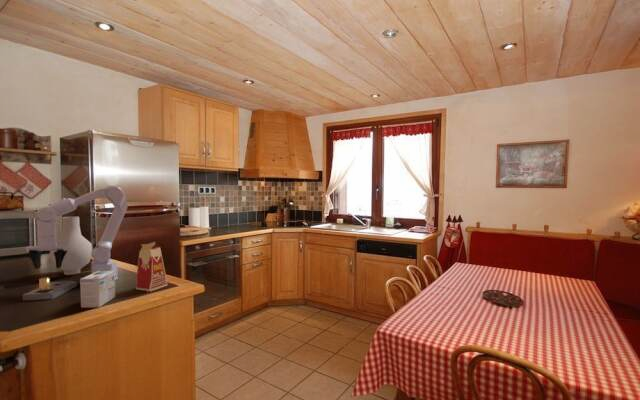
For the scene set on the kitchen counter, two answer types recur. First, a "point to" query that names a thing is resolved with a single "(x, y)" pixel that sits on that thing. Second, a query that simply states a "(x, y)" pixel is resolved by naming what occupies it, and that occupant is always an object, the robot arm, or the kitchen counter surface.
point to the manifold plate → (54, 292)
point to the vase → (73, 247)
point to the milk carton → (150, 268)
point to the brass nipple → (44, 285)
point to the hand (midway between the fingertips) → (48, 268)
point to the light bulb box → (97, 288)
